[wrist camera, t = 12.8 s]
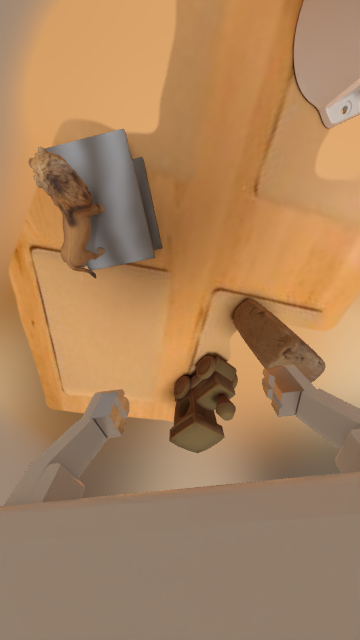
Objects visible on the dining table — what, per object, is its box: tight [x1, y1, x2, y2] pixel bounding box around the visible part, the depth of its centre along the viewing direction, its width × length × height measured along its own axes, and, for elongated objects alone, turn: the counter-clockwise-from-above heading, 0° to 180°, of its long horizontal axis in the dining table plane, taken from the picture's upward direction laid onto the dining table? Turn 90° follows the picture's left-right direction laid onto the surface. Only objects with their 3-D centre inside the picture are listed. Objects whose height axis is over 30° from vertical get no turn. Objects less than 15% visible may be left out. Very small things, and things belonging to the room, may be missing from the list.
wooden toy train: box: [170, 356, 238, 453], centre depth 45 cm, size 20×11×17 cm, turn 141°
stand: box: [45, 129, 162, 270], centre depth 28 cm, size 14×16×8 cm
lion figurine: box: [29, 147, 105, 278], centre depth 22 cm, size 15×5×9 cm, turn 174°
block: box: [233, 299, 325, 382], centre depth 33 cm, size 11×8×20 cm
